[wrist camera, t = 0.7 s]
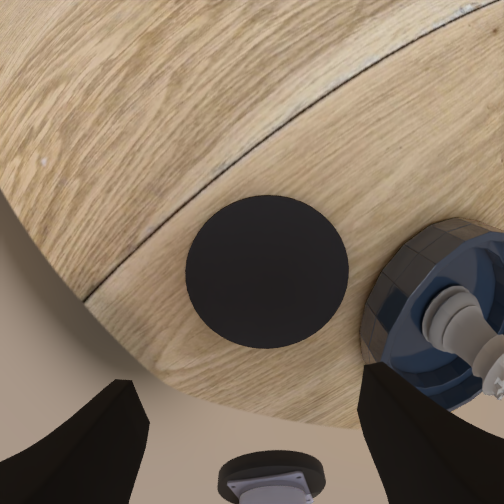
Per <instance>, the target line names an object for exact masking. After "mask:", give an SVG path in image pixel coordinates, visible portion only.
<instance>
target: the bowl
mask: <svg viewBox="0 0 504 504" xmlns="http://www.w3.org/2000/svg"><path fill="white" fill-rule="evenodd" d="M452 286H463V287H464V288H466V289H467V290H469V292H470V293H471V294H472V295H474V296H475V297H476V298H477V300H478V302H479V305H480V308H481V311H482V314H483V318H484V319H485V320H486V322H487V323H488V324H489V325H490V327H491V328H492V329H493V330H494V331H495V332H496V333H497V334H498V335H501V334H503V335H504V230H501V229H499V228H496V227H493V226H491V225H488V224H485V223H483V222H480V221H477V220H471V219H464V218H452V219H449V220H445V221H442V222H439V223H436V224H433V225H430V226H428V227H427V228H425V229H424V230H423V231H421V232H420V233H419V234H417V235H416V236H414V237H413V238H412V239H410V240H409V241H407V242H406V243H405V244H404V245H403V246H402V247H401V248H400V250H399V251H398V252H397V253H396V254H395V256H394V257H393V258H392V259H391V260H390V262H389V263H388V264H387V265H386V266H385V268H384V269H383V270H382V272H381V273H380V275H379V277H378V279H377V281H376V283H375V285H374V287H373V289H372V291H371V293H370V295H369V297H368V299H367V301H366V304H365V309H364V314H363V318H362V323H361V327H360V341H361V350H362V357H363V360H364V362H365V364H366V365H367V364H372V363H377V362H382V361H383V362H384V363H385V364H387V365H388V366H389V367H390V368H392V369H393V370H394V371H395V372H397V373H398V374H399V375H400V376H402V377H403V378H404V379H405V380H407V381H408V382H409V383H410V384H412V385H413V386H414V387H416V388H417V389H418V390H419V391H421V392H422V393H423V394H425V395H426V396H427V397H429V398H430V399H432V400H433V401H434V402H436V403H437V404H439V405H440V406H442V407H443V408H445V409H446V410H448V411H449V412H451V411H453V410H455V409H457V408H459V407H461V406H462V405H464V404H466V403H468V402H469V401H471V400H472V399H474V398H475V397H476V396H477V395H479V394H480V393H481V392H482V391H483V390H482V378H481V377H477V376H474V375H473V372H472V367H471V366H470V365H469V364H468V363H467V362H466V361H464V360H463V359H462V358H461V357H459V356H458V355H457V354H455V353H453V354H451V353H449V352H443V351H441V350H438V349H436V348H434V347H433V345H432V344H431V343H430V342H428V341H427V340H426V338H425V337H424V335H423V328H422V322H423V318H424V314H425V311H426V308H427V307H428V305H429V303H430V302H431V300H432V299H433V298H434V297H435V296H436V295H437V294H438V293H439V292H441V291H443V290H445V289H447V288H449V287H452Z"/></svg>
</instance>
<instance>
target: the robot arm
mask: <svg viewBox="0 0 504 504" xmlns="http://www.w3.org/2000/svg"><path fill="white" fill-rule="evenodd" d="M357 411H358V415H359V419H360V424H361V427H362V431H363V435H364V438H365V440H366V443H367V445H368V448H369V450H370V453H371V456H372V458H373V461H374V463H375V465H376V468H377V470H378V473H379V476H380V478H381V481H382V483H383V486H384V488H385V491H386V495H387V497H388V502H389V504H504V439H503V438H500V437H498V436H495V435H493V434H490V433H488V432H486V431H484V430H482V429H480V428H478V427H476V426H474V425H472V424H470V423H468V422H466V421H464V420H463V419H461V418H459V417H457V416H456V415H454V414H453V413H451V412H449V411H448V410H446V409H445V408H443V407H442V406H440V405H439V404H437V403H436V402H434V401H433V400H432V399H430V398H429V397H427V396H426V395H425V394H423V393H422V392H421V391H419V390H418V389H417V388H416V387H414V386H413V385H412V384H410V383H409V382H408V381H407V380H405V379H404V378H403V377H402V376H400V375H399V374H398V373H397V372H395V371H394V370H393V369H392V368H390V367H389V366H388V365H387V364H385V363H384V362H383V361H382V362H377V363H372V364H367V365H364V371H363V378H362V384H361V391H360V396H359V402H358V408H357ZM149 424H150V422H149V419H148V417H147V416H146V413H145V411H144V408H143V406H142V404H141V401H140V399H139V397H138V394H137V392H136V390H135V387H134V385H133V382H132V380H118V379H115V380H114V381H113V382H111V383H110V384H109V385H108V386H107V387H105V388H104V389H103V390H102V391H101V392H100V393H98V394H97V395H96V396H95V397H94V398H93V399H92V400H90V401H89V402H88V403H87V404H86V405H85V406H83V407H82V408H81V409H80V410H79V411H78V412H77V413H75V414H74V415H73V416H72V417H71V418H69V419H68V420H67V421H66V422H64V423H63V424H62V425H61V426H59V427H58V428H56V429H55V430H54V431H53V432H51V433H50V434H49V435H47V436H46V437H44V438H43V439H41V440H40V441H38V442H37V443H35V444H34V445H32V446H31V447H29V448H27V449H25V450H24V451H22V452H20V453H18V454H16V455H14V456H12V457H10V458H7V459H6V460H3V461H1V462H0V504H129V499H130V496H131V493H132V490H133V487H134V483H135V480H136V477H137V474H138V471H139V468H140V464H141V461H142V458H143V455H144V451H145V448H146V443H147V437H148V431H149ZM227 485H228V486H229V488H230V489H231V490H232V491H233V493H234V494H235V495H236V496H237V497H238V498H239V504H312V503H313V502H314V501H313V498H312V495H311V493H310V490H309V488H308V485H307V483H306V480H305V477H304V475H303V472H302V471H294V472H288V473H283V474H277V475H271V476H264V477H257V478H249V479H241V480H231V481H228V482H227Z"/></svg>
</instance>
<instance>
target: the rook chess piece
mask: <svg viewBox="0 0 504 504" xmlns="http://www.w3.org/2000/svg"><path fill="white" fill-rule="evenodd" d="M422 328H423V335H424V337H425V338H426V340H427V341H428V342H430V343H431V344H432V345H433V347H434V348H436V349H438V350H441V351H443V352H449V353H451V354H453V353H455V354H457V355H458V356H459V357H461V358H462V359H463V360H464V361H466V362H467V363H468V364H469V365H470V366H471V367H472V372H473V375H474V376H477V377H481V378H482V390H483V393H484V394H485V395H494V396H495V397H496V398H497V399H498V400H501V399H502V398H503V396H504V335H503V334H501V335H498V334H497V333H496V332H495V331H494V330H493V329H492V328H491V327H490V325H489V324H488V323H487V322H486V320H485V319H484V318H483V314H482V311H481V308H480V305H479V302H478V300H477V298H476V297H475V296H474V295H472V294H471V293H470V292H469V290H467V289H466V288H464V287H463V286H452V287H449V288H447V289H445V290H443V291H441V292H439V293H438V294H437V295H436V296H435V297H434V298H433V299H432V300H431V302H430V303H429V305H428V307H427V308H426V311H425V314H424V318H423V322H422Z"/></svg>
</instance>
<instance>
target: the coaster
mask: <svg viewBox="0 0 504 504" xmlns="http://www.w3.org/2000/svg"><path fill="white" fill-rule="evenodd" d="M185 272H186V285H187V291H188V294H189V297H190V300H191V302H192V304H193V306H194V309H195V310H196V312H197V313H198V315H199V316H200V318H201V319H202V320H203V321H204V322H205V323H206V325H208V326H209V327H210V328H211V329H212V330H213V331H214V332H216V333H217V334H219V335H220V336H222V337H223V338H225V339H227V340H229V341H231V342H234V343H236V344H239V345H243V346H247V347H252V348H264V349H269V348H279V347H284V346H288V345H292V344H295V343H297V342H300V341H302V340H304V339H306V338H308V337H310V336H311V335H313V334H314V333H316V332H317V331H318V330H320V329H321V328H322V327H323V326H324V325H325V324H326V323H327V322H328V321H329V320H330V319H331V318H332V316H333V315H334V314H335V312H336V311H337V309H338V308H339V306H340V304H341V302H342V300H343V297H344V294H345V291H346V288H347V283H348V273H349V266H348V257H347V254H346V250H345V247H344V244H343V242H342V239H341V237H340V236H339V234H338V232H337V231H336V229H335V228H334V227H333V225H332V224H331V223H330V222H329V221H328V220H327V219H326V218H325V217H324V216H323V215H322V214H321V213H319V212H318V211H316V210H315V209H314V208H312V207H311V206H309V205H307V204H305V203H303V202H301V201H298V200H295V199H292V198H288V197H283V196H273V195H263V196H254V197H249V198H245V199H242V200H239V201H236V202H234V203H232V204H230V205H228V206H226V207H224V208H223V209H221V210H220V211H218V212H217V213H216V214H214V215H213V216H212V217H211V218H210V219H209V220H208V221H207V222H206V223H205V224H204V226H203V227H202V228H201V229H200V231H199V232H198V234H197V236H196V237H195V239H194V241H193V243H192V245H191V248H190V250H189V253H188V257H187V262H186V270H185Z"/></svg>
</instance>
